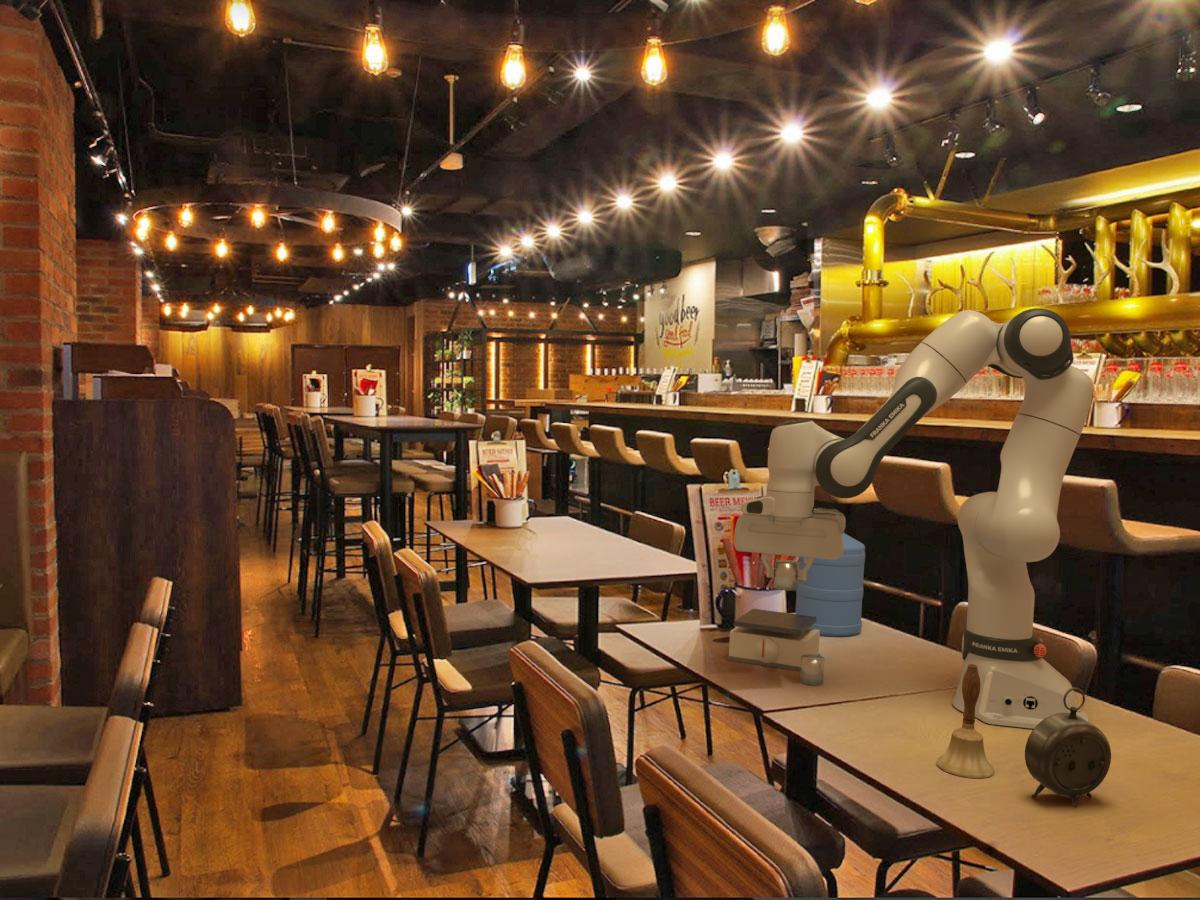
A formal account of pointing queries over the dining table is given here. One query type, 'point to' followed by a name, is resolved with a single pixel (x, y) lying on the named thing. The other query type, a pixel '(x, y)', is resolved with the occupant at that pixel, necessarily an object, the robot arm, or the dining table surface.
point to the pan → (775, 621)
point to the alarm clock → (1067, 754)
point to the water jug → (834, 591)
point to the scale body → (772, 647)
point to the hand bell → (967, 736)
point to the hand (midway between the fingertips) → (786, 578)
